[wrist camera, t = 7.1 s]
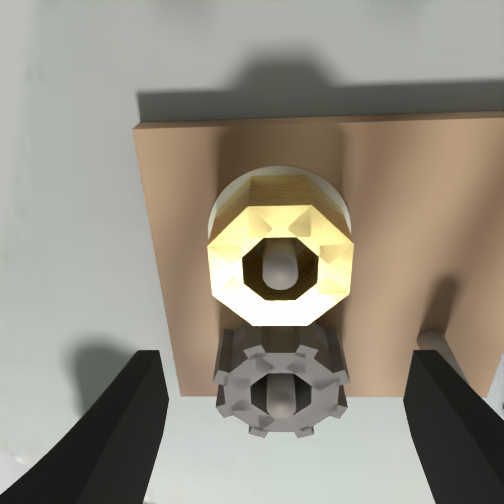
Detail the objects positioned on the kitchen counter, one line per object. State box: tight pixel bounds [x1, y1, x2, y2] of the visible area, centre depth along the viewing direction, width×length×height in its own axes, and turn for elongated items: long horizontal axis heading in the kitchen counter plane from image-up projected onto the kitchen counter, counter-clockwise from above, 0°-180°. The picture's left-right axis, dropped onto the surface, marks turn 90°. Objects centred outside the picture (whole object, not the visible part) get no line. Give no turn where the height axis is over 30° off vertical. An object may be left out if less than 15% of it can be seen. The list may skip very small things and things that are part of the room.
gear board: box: [133, 111, 504, 438], centre depth 20 cm, size 18×16×5 cm
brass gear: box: [207, 174, 354, 325], centre depth 18 cm, size 6×6×3 cm
